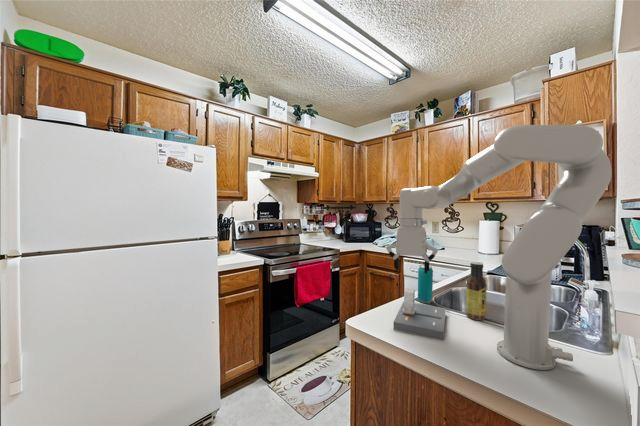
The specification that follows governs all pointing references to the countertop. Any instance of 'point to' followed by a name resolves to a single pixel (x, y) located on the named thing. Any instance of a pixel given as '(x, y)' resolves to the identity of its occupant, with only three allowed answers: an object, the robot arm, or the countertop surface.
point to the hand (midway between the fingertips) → (411, 271)
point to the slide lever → (409, 301)
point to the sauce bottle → (476, 293)
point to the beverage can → (425, 284)
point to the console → (422, 321)
